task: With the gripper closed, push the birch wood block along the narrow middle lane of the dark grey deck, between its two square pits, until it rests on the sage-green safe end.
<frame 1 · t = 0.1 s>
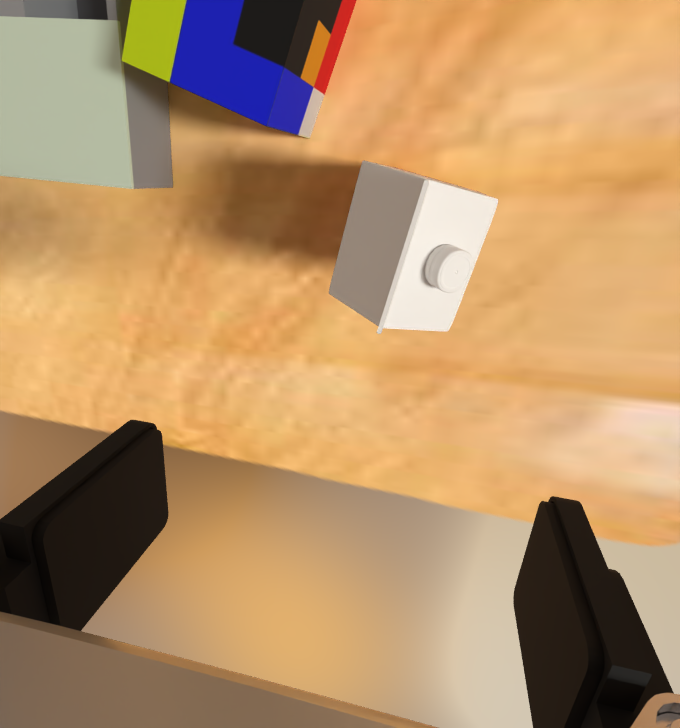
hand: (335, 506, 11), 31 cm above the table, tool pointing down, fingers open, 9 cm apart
puzzle toy: (274, 45, 36), on the table
milk carton: (421, 224, 38), on the table
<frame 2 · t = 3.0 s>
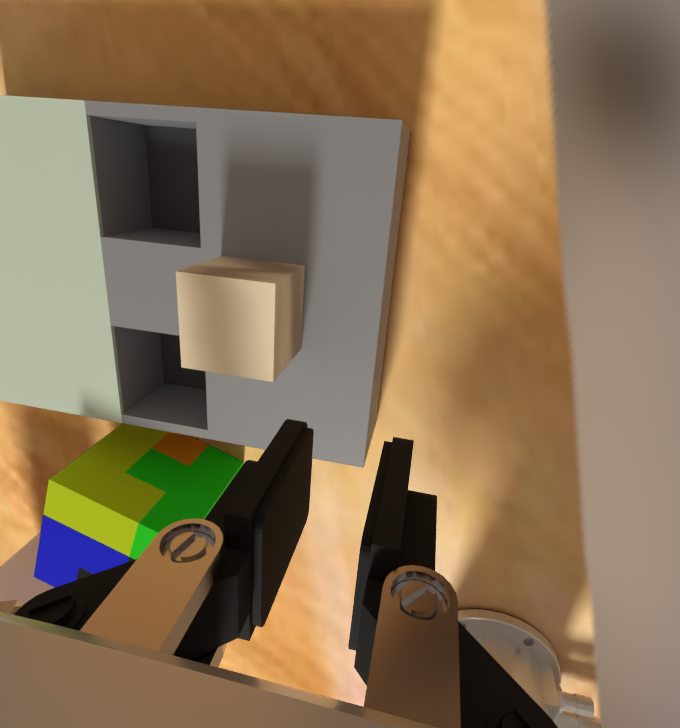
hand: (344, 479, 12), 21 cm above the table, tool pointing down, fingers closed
puzzle toy: (179, 477, 42), on the table
birch block: (261, 303, 28), point 6 cm above the table, touching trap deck
milk carton: (79, 560, 49), on the table
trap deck: (200, 271, 34), on the table
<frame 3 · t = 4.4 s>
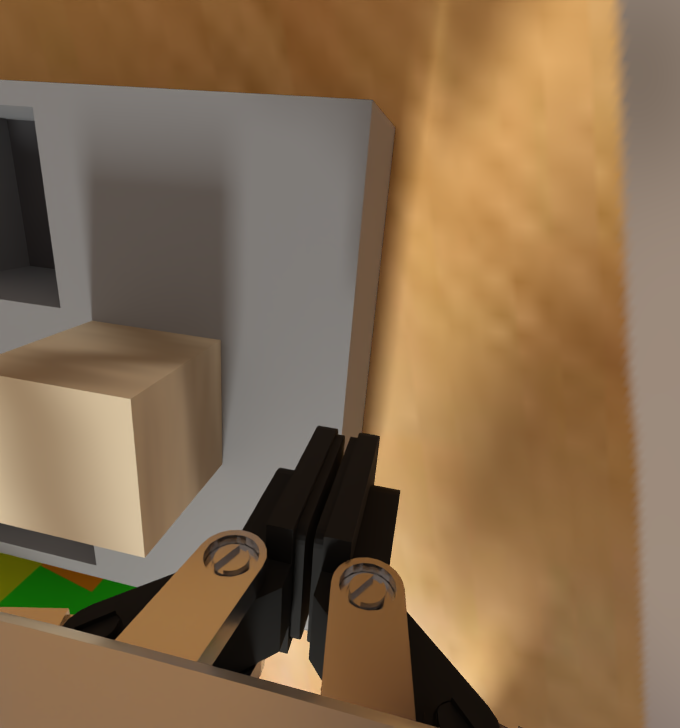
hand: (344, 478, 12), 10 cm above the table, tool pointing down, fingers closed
puzzle toy: (94, 587, 32), on the table
birch block: (158, 394, 17), point 6 cm above the table, touching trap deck
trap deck: (101, 326, 24), on the table
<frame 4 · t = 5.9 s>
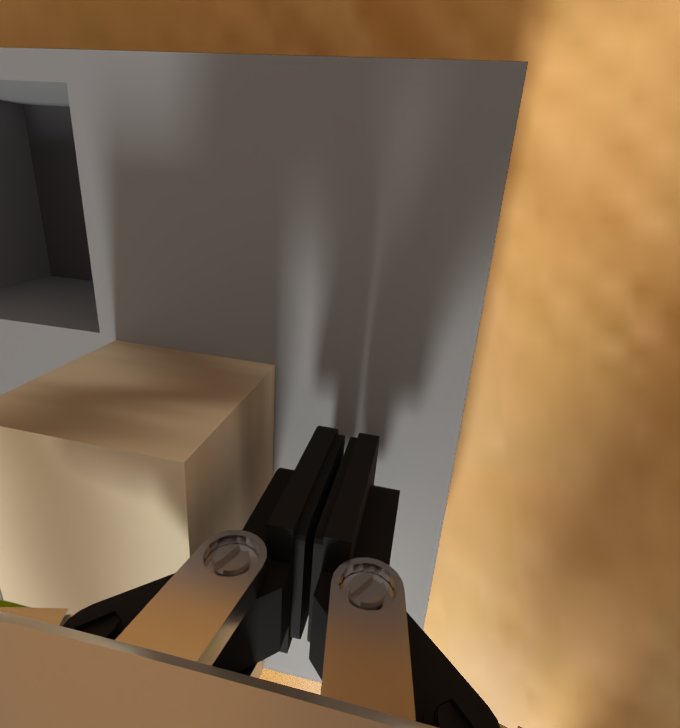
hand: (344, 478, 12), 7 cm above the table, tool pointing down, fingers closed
birch block: (196, 427, 14), point 6 cm above the table, touching gripper
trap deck: (133, 343, 21), on the table
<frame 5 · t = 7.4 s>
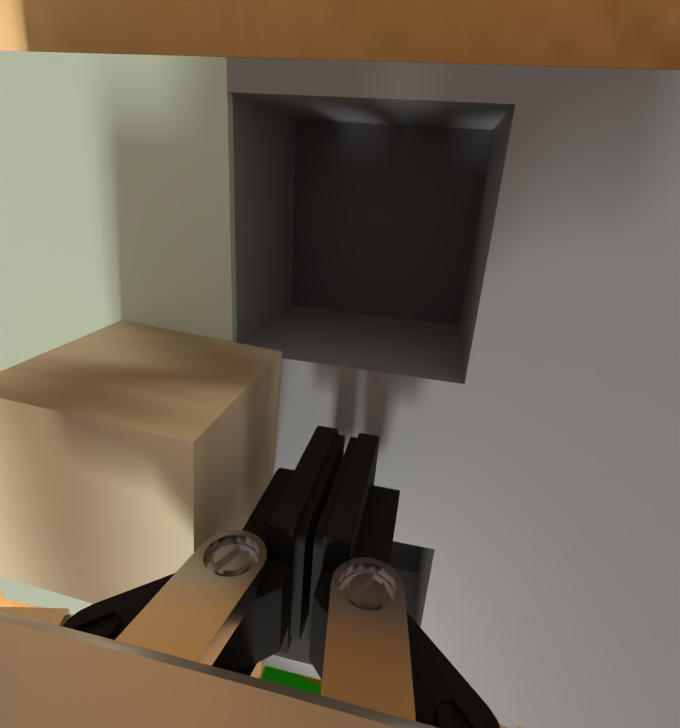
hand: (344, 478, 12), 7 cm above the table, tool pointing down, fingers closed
puzzle toy: (289, 665, 27), on the table
birch block: (199, 411, 14), point 6 cm above the table, touching gripper
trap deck: (368, 377, 19), on the table
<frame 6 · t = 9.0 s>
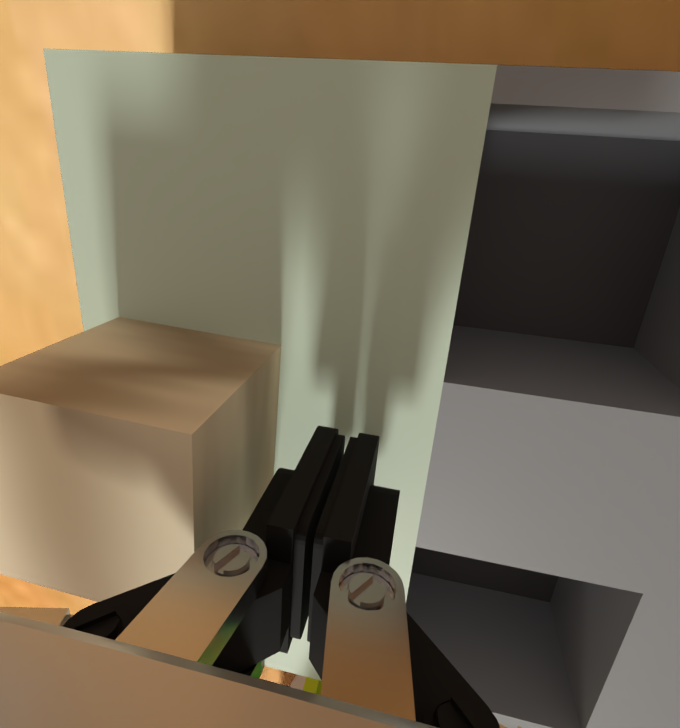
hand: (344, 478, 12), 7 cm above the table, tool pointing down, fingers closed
puzzle toy: (388, 691, 26), on the table
birch block: (198, 408, 14), point 6 cm above the table, touching gripper, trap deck
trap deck: (517, 399, 18), on the table
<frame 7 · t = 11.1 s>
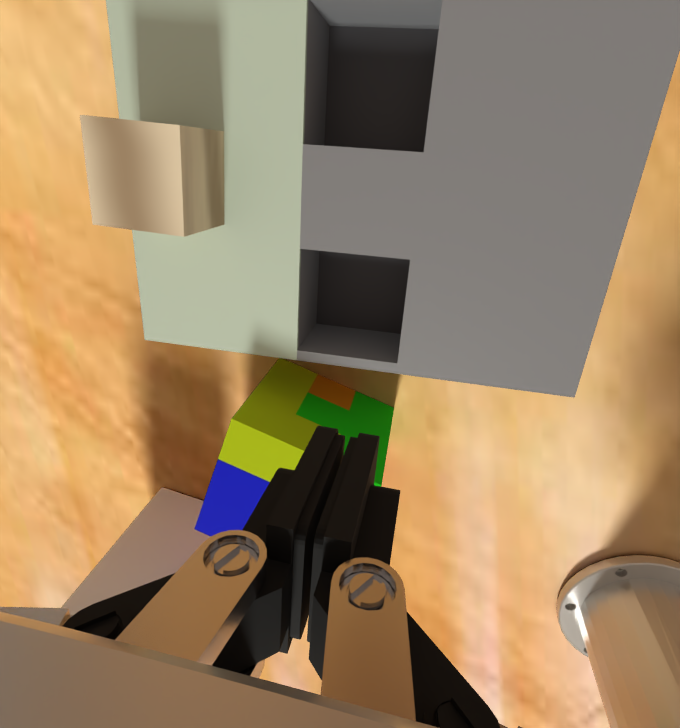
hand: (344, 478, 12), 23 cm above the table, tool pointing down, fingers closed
puzzle toy: (316, 428, 40), on the table
birch block: (183, 174, 27), point 6 cm above the table, touching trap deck
milk carton: (193, 522, 47), on the table
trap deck: (370, 196, 31), on the table
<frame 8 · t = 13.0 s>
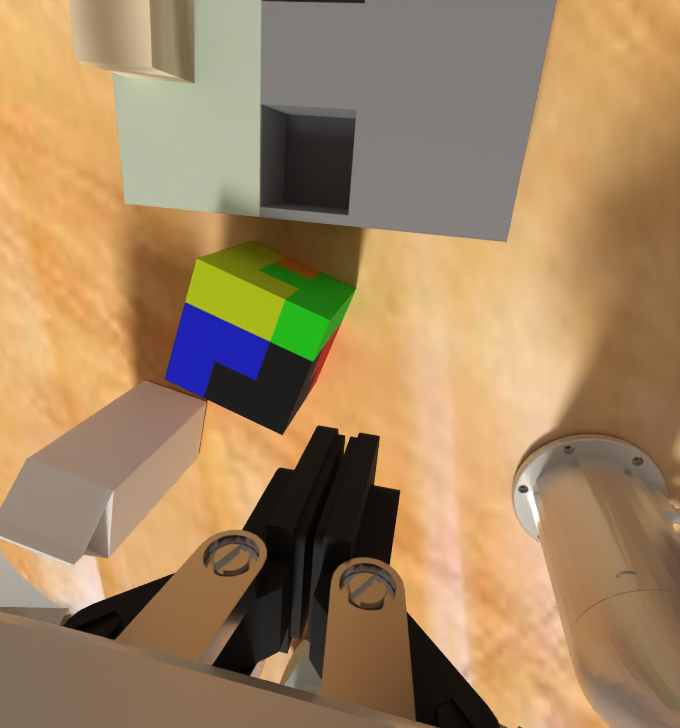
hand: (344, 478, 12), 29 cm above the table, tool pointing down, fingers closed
puzzle toy: (285, 314, 43), on the table
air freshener: (329, 655, 58), on the table
birch block: (158, 36, 31), point 6 cm above the table, touching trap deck
milk carton: (173, 417, 50), on the table
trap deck: (331, 75, 35), on the table
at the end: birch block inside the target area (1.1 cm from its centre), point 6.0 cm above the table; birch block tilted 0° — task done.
